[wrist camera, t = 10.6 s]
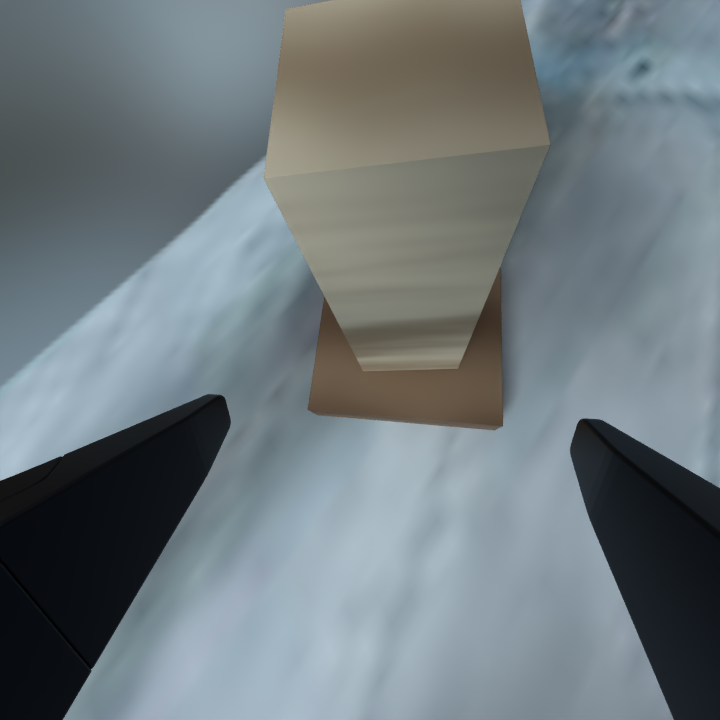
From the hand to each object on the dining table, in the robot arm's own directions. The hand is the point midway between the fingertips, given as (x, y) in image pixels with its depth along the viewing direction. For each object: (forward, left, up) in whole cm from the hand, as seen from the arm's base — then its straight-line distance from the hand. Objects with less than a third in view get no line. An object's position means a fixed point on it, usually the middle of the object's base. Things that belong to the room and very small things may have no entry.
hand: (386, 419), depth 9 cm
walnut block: (+4, -5, -11) cm, 13 cm away
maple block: (+4, -5, -9) cm, 11 cm away
